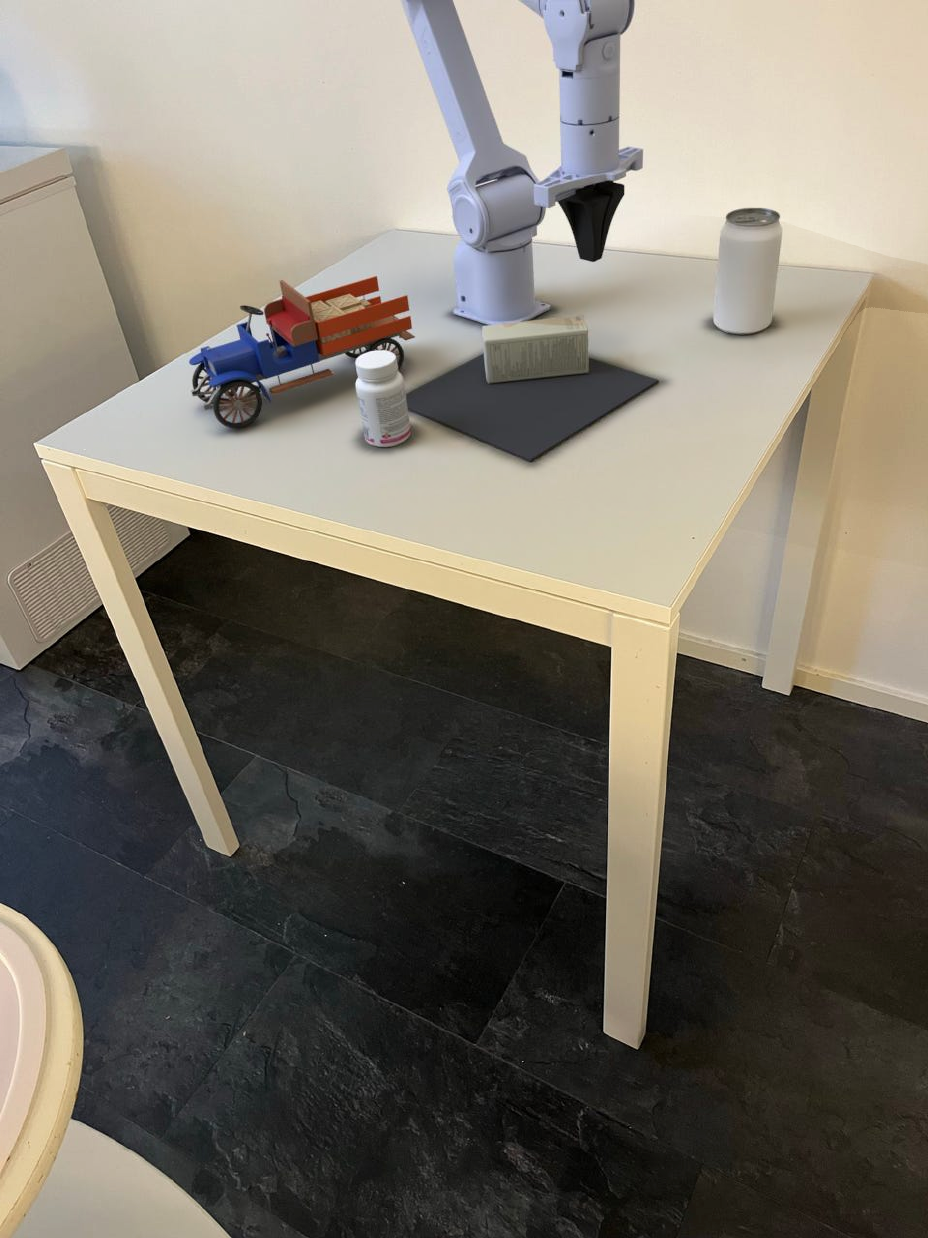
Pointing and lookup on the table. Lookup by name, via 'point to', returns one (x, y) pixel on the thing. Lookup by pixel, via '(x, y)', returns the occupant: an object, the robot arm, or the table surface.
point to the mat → (525, 404)
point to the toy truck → (297, 344)
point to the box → (535, 349)
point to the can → (747, 270)
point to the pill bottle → (382, 399)
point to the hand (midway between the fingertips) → (590, 258)
